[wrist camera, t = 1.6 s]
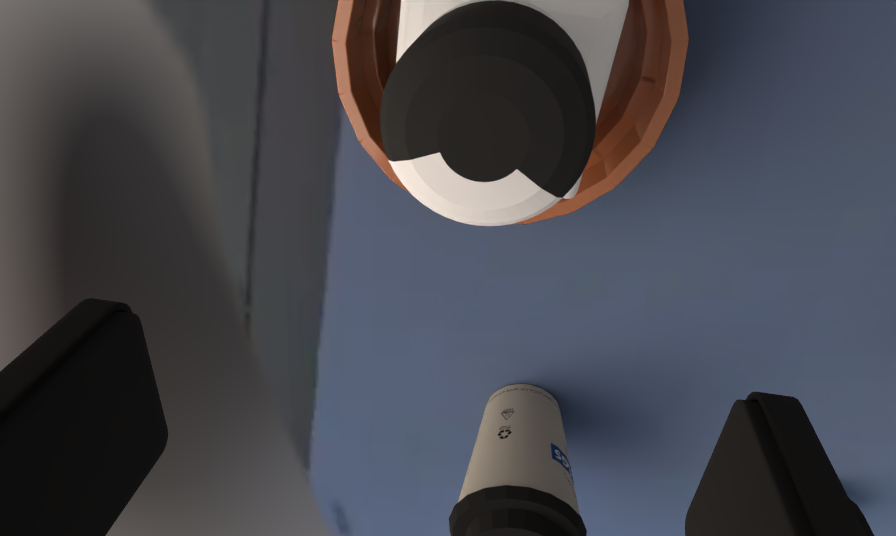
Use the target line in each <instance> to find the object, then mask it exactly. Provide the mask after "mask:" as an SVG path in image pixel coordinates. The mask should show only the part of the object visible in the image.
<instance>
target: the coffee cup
mask: <svg viewBox="0 0 896 536" xmlns="http://www.w3.org/2000/svg"><path fill="white" fill-rule="evenodd" d="M449 525H450V533H451V536H586V533H587V531H586V528H585V526H584V523H583V521H582V518H581V516H580V515H579V510H578V505H577V499H576V494H575V488H574V483H573V477H572V472H571V467H570V461H569V456H568V450H567V445H566V440H565V434H564V429H563V423H562V418H561V412H560V408H559V406H558V403H557V401H556V400H555V399H554V398H553V396H552V395H551V394H550V393H548V392H546V391H545V390H543V389H542V388H539V387H536V386H533V385H529V384H514V385H509V386H505V387H503V388H501V389H499V390H497V391H496V392H495V393H494V394H493V395H492V396H491V397H490V399H489V401H488V403H487V406H486V409H485V413H484V416H483V419H482V423H481V426H480V430H479V433H478V436H477V440H476V443H475V446H474V450H473V453H472V457H471V460H470V463H469V467H468V470H467V474H466V477H465V480H464V484H463V487H462V490H461V494H460V497H459V501H458V503H457V504H456V505H455V506H454V508H453V510H452V513H451V515H450V517H449Z"/></svg>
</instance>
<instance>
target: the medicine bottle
mask: <svg viewBox="0 0 896 536" xmlns="http://www.w3.org/2000/svg"><path fill="white" fill-rule="evenodd" d="M628 6H629V0H401V9H400V21H399V33H398V44H397V56H396V65H395V66H394V68H393V70H392V72H391V74H390V75H389V78H388V81H387V83H386V86H385V89H384V92H383V97H382V101H381V110H380V129H381V136H382V141H383V146H384V149H385V152H386V155H387V158H388V160H389V163H390V164H391V166H392V168H393V170H394V172H395V174H396V175H397V177H398V178H399V180H400V181H401V183H402V184H403V185H404V186H405V187H406V188H407V190H408V191H409V192H410V193H411V194H412V195H413V196H414V197H415V198H417V199H418V200H419V201H420V202H421V203H422V204H424V205H425V206H427V207H428V208H430V209H431V210H433V211H434V212H436V213H438V214H440V215H442V216H444V217H447V218H449V219H452V220H455V221H458V222H462V223H466V224H471V225H480V226H501V225H507V224H514V223H517V222H520V221H524V220H527V219H529V218H532V217H534V216H536V215H539V214H540V213H542V212H544V211H545V210H547V209H549V208H550V207H552V206H553V205H554V204H556V203H557V202H558V201H559V200H561V199H562V198H564V199H571V198H572V197H574V196H575V195H576V193H577V191H578V189H579V185H580V181H581V178H582V174H583V171H584V169H585V167H586V165H587V163H588V160H589V157H590V155H591V152H592V149H593V144H594V139H595V131H596V123H597V119H598V115H599V112H600V108H601V104H602V101H603V97H604V93H605V90H606V86H607V82H608V79H609V75H610V72H611V68H612V64H613V61H614V57H615V53H616V50H617V46H618V42H619V39H620V35H621V31H622V28H623V24H624V20H625V17H626V13H627V9H628Z"/></svg>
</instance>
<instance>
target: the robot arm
mask: <svg viewBox="0 0 896 536" xmlns="http://www.w3.org/2000/svg"><path fill="white" fill-rule="evenodd" d="M167 439H168V429H167V425H166V421H165V417H164V413H163V409H162V405H161V401H160V397H159V393H158V389H157V385H156V381H155V377H154V373H153V369H152V365H151V361H150V357H149V354H148V349H147V345H146V341H145V337H144V333H143V329H142V325H141V322H140V319H139V317H138V316H137V315H136V314H133V313H132V311H131V308H130V307H129V306H128V305H127V304H124V303H120V302H114V301H107V300H100V299H92V298H90V299H85V300H83V301H82V302H80V303H79V304H78V305H77V306H75V307H74V308H73V309H72V310H71V311H70V312H68V313H67V314H66V315H65V316H64V317H63V318H62V319H60V320H59V321H58V322H57V323H56V324H55V325H53V326H52V327H51V328H50V329H49V330H48V331H47V332H45V333H44V334H43V335H42V336H41V337H40V338H39V339H37V340H36V341H35V342H34V343H33V344H32V345H31V346H29V347H28V348H27V349H26V350H25V351H23V352H22V353H21V354H20V355H19V356H18V357H17V358H16V359H14V360H13V361H12V362H11V363H10V364H8V365H7V366H6V367H5V368H4V369H3V370H2V371H1V372H0V536H105V535H106V534H107V532H108V531H109V529H110V528H111V527H112V525H113V524H114V522H115V521H116V519H117V518H118V516H119V515H120V514H121V512H122V511H123V509H124V508H125V506H126V505H127V504H128V502H129V501H130V499H131V497H132V496H133V495H134V493H135V492H136V490H137V489H138V487H139V486H140V485H141V483H142V482H143V480H144V479H145V477H146V476H147V474H148V473H149V472H150V470H151V469H152V467H153V466H154V464H155V463H156V462H157V460H158V459H159V457H160V455H161V454H162V453H163V451H164V449H165V446H166V443H167ZM685 535H686V536H874V534H873V532H872V531H871V529H870V527H869V525H868V523H867V521H866V519H865V517H864V515H863V514H862V512H861V511H860V509H859V508H858V506H857V505H856V504H855V503H854V502H853V501H851V500H850V499H849V498H848V496H847V494H846V492H845V490H844V488H843V486H842V484H841V482H840V480H839V478H838V476H837V474H836V472H835V470H834V468H833V466H832V464H831V462H830V460H829V458H828V456H827V454H826V452H825V450H824V448H823V446H822V445H821V443H820V441H819V439H818V437H817V435H816V433H815V431H814V429H813V427H812V425H811V423H810V421H809V419H808V417H807V415H806V413H805V411H804V409H803V407H802V405H801V403H800V402H799V400H798V399H796V398H794V397H790V396H782V395H775V394H768V393H761V392H752V393H751V394H749V395H748V397H747V399H746V400H737V401H736V402H735V403H734V405H733V407H732V409H731V411H730V414H729V416H728V418H727V421H726V423H725V425H724V428H723V430H722V432H721V435H720V437H719V439H718V442H717V444H716V446H715V449H714V451H713V453H712V456H711V458H710V460H709V463H708V465H707V467H706V470H705V472H704V474H703V477H702V479H701V481H700V484H699V486H698V488H697V491H696V493H695V495H694V498H693V500H692V502H691V505H690V507H689V509H688V512H687V515H686V521H685Z"/></svg>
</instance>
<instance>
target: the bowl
mask: <svg viewBox="0 0 896 536" xmlns="http://www.w3.org/2000/svg"><path fill="white" fill-rule="evenodd" d="M400 9H401V0H338V6H337V12H336V17H335V23H334V29H333V35H332V46H333V54H334V62H335V71H336V79H337V87H338V93H339V96H340V99H341V101H342V103H343V106H344V108H345V110H346V113H347V115H348V117H349V119H350V122H351V124H352V126H353V129H354V131H355V133H356V136H357V138H358V140H359V141H360V144H361V145H362V146H363V147H364V148H365V150H366V151H367V152H368V153H369V154H370V156H371V157H372V158H373V159H374V160H375V162H376V163H377V164H378V165H379V166H380V168H381V169H382V170H383V171H384V172H385V174H386V175H387V176H388V177H389V178H390V179H392V181H393V182H394V183H396V184H397V185H399V186H400V187H402V188H403V189H405V190H406V191H408V190H407V188H406V187H405V186H404V185H403V184H402V183H401V181H400V180H399V178H398V177H397V175H396V174H395V172H394V170H393V168H392V166H391V164H390V163H389V160H388V158H387V155H386V152H385V149H384V146H383V141H382V136H381V129H380V110H381V101H382V97H383V92H384V89H385V86H386V83H387V81H388V78H389V75H390V74H391V72H392V70H393V68H394V66H395V65H396V56H397V44H398V33H399V21H400ZM688 43H689V34H688V28H687V21H686V15H685V8H684V2H683V0H629V6H628V9H627V13H626V17H625V20H624V24H623V28H622V31H621V35H620V39H619V42H618V46H617V50H616V53H615V57H614V61H613V64H612V68H611V72H610V75H609V79H608V82H607V86H606V90H605V93H604V97H603V101H602V104H601V108H600V112H599V115H598V119H597V123H596V131H595V139H594V144H593V149H592V152H591V155H590V157H589V160H588V163H587V165H586V167H585V169H584V171H583V174H582V178H581V181H580V185H579V189H578V191H577V193H576V195H575V196H574V197H572V198H571V199H564V198H562V199H561V200H559V201H558V202H557V203H556V204H554V205H553V206H552V207H550V208H549V209H547V210H545V211H544V212H542V213H540V214H539V215H536V216H534V217H532V218H529V219H527V220H524V221H520V222H517V223H514V224H528V223H532V222H536V221H540V220H544V219H548V218H553V217H557V216H561V215H565V214H569V213H572V212H574V211H576V210H577V209H579V208H581V207H583V206H584V205H586V204H588V203H590V202H591V201H593V200H595V199H596V198H598V197H600V196H602V195H603V194H605V193H607V192H609V191H610V190H612V189H614V188H615V187H616V186H618V185H619V184H620V183H621V182H622V180H623V179H624V178H625V177H626V176H627V175H628V174H629V173H630V172H631V171H632V170H633V169H634V168H635V167H636V166H637V165H638V164H639V163H640V162H641V161H642V160H643V158H644V157H645V156H646V155H647V154H648V153H649V152H650V151H651V150H652V149H653V147H654V146H655V144H656V142H657V140H658V138H659V136H660V134H661V133H662V131H663V129H664V127H665V125H666V123H667V121H668V119H669V117H670V115H671V113H672V111H673V109H674V107H675V105H676V103H677V101H678V99H679V98H678V97H679V96H680V91H681V85H682V79H683V73H684V67H685V61H686V55H687V49H688ZM408 192H409V191H408ZM409 193H410V192H409Z"/></svg>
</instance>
